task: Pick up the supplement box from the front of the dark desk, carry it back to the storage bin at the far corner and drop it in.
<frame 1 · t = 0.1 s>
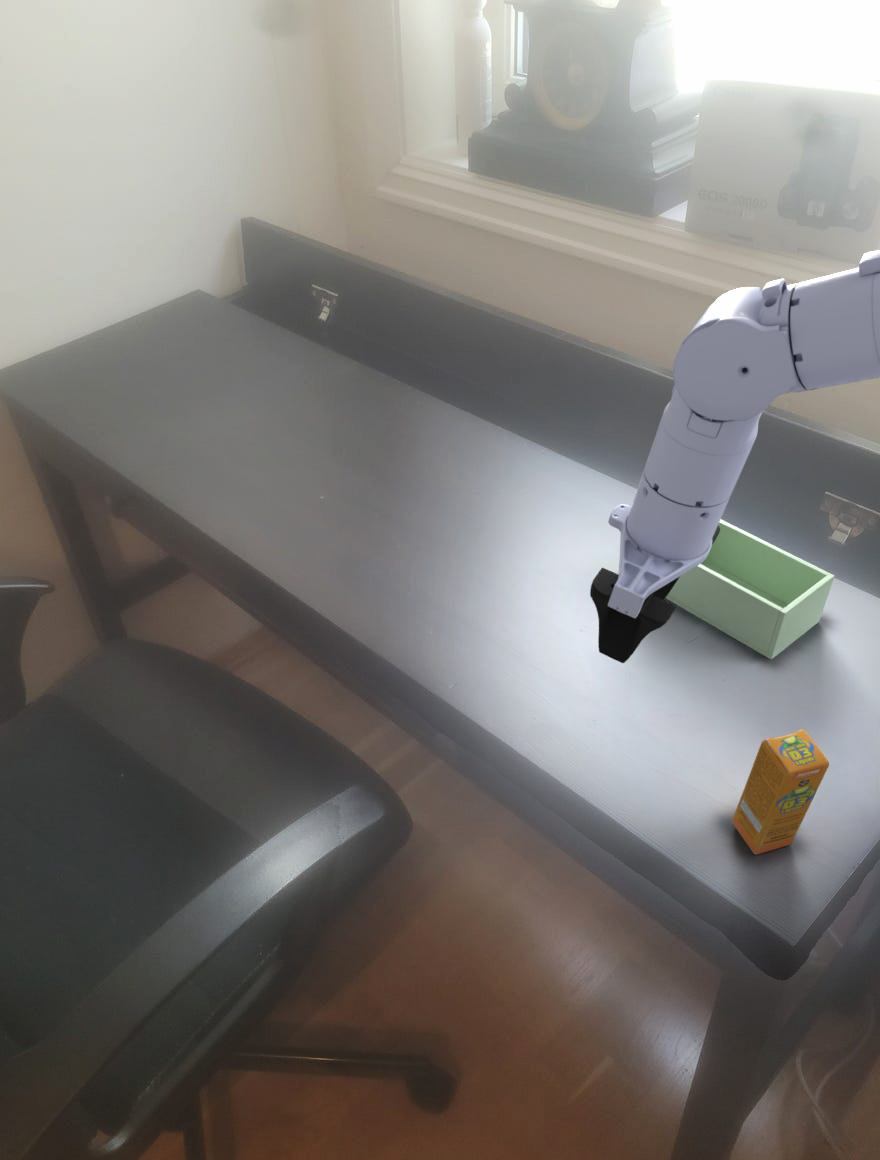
hand: (631, 624, 68), 11 cm above the table, tool pointing down, fingers open, 7 cm apart
supplement box: (762, 836, 67), on the table
storage bin: (726, 601, 86), on the table
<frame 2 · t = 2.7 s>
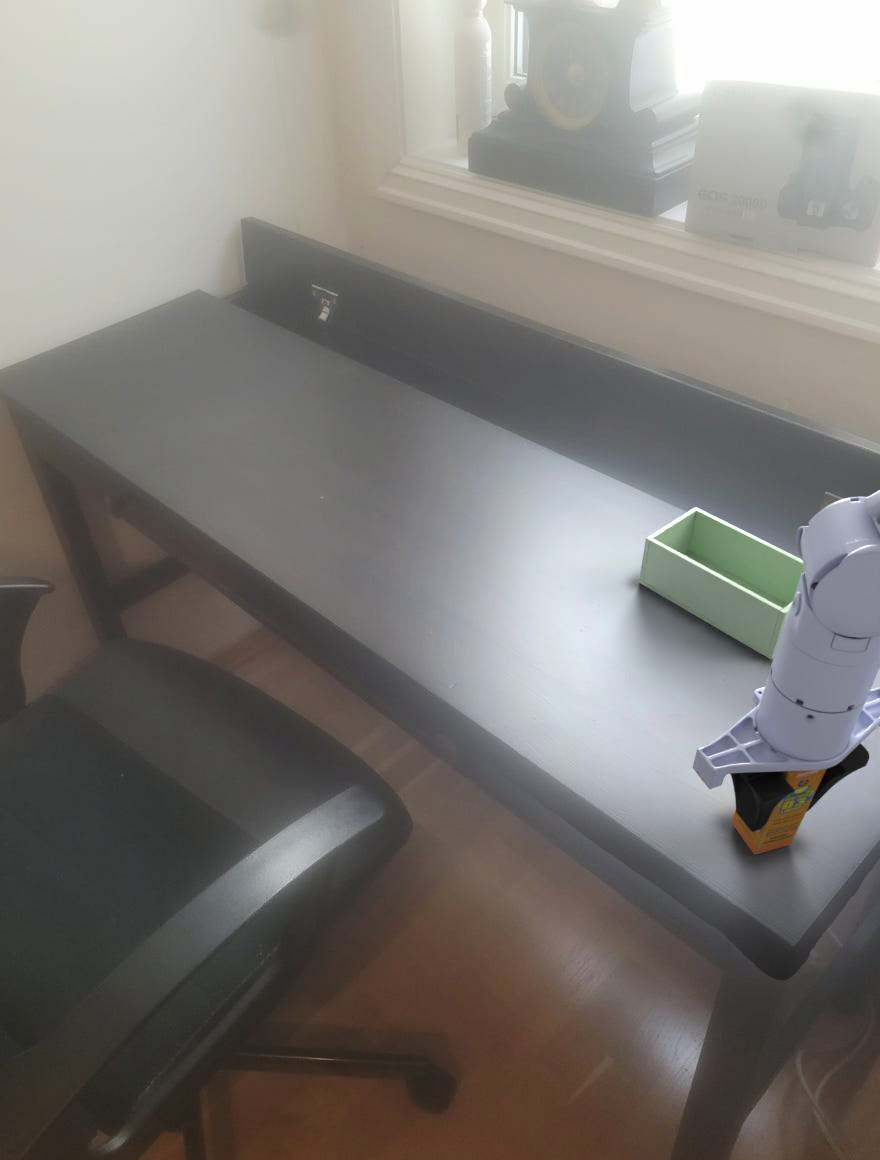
hand: (771, 811, 65), 3 cm above the table, tool pointing down, fingers closed on supplement box, 3 cm apart
supplement box: (761, 836, 67), on the table, touching gripper
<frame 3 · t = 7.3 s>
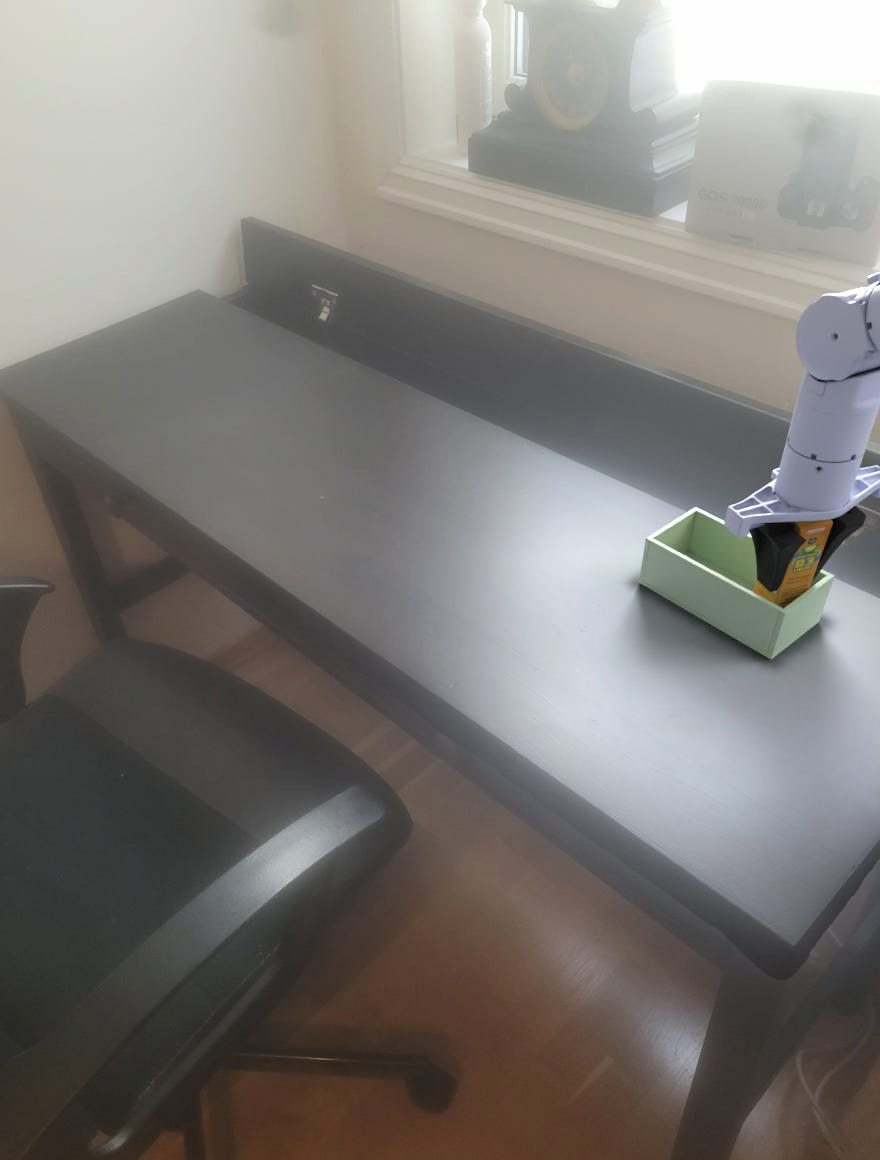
hand: (785, 579, 79), 6 cm above the table, tool pointing down, fingers closed on supplement box, 3 cm apart
supplement box: (777, 605, 81), point 3 cm above the table, touching gripper
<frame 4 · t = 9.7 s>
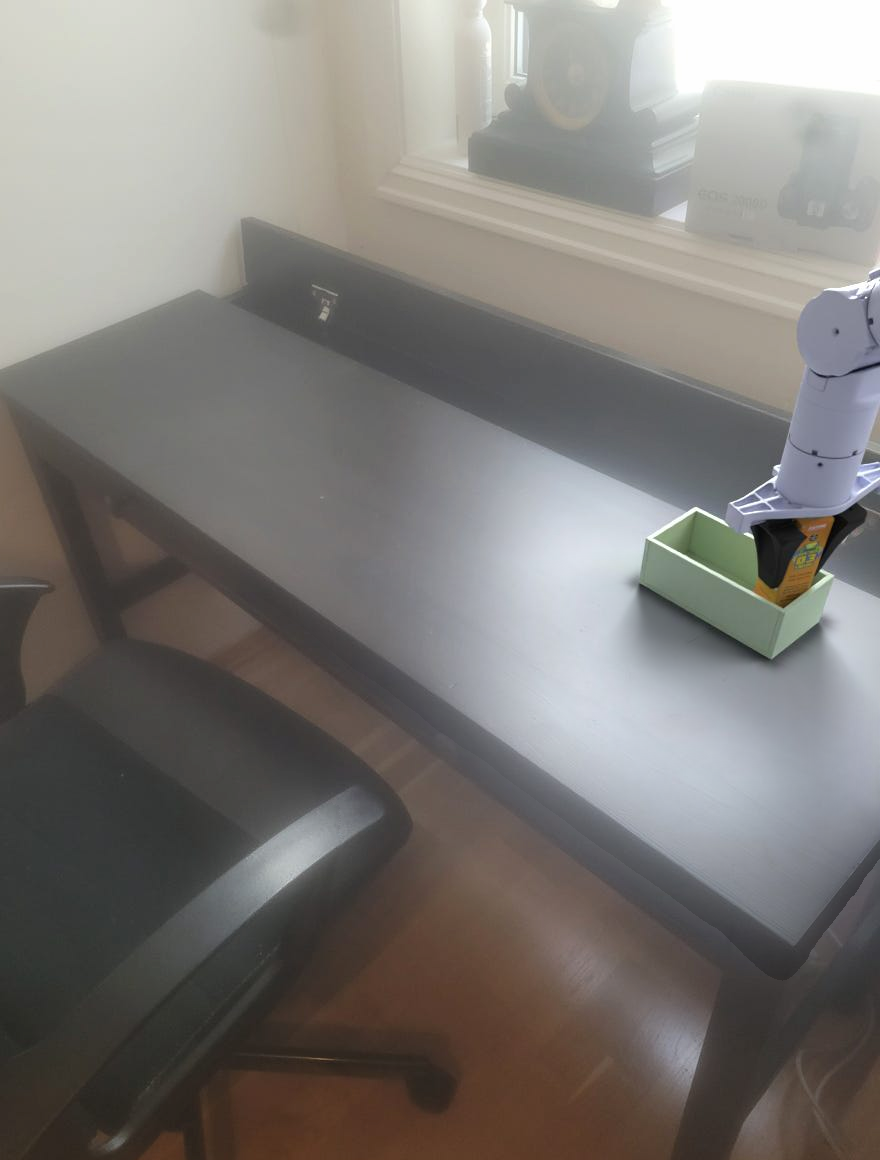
hand: (787, 576, 79), 6 cm above the table, tool pointing down, fingers closed on supplement box, 3 cm apart
supplement box: (778, 602, 81), point 3 cm above the table, touching gripper
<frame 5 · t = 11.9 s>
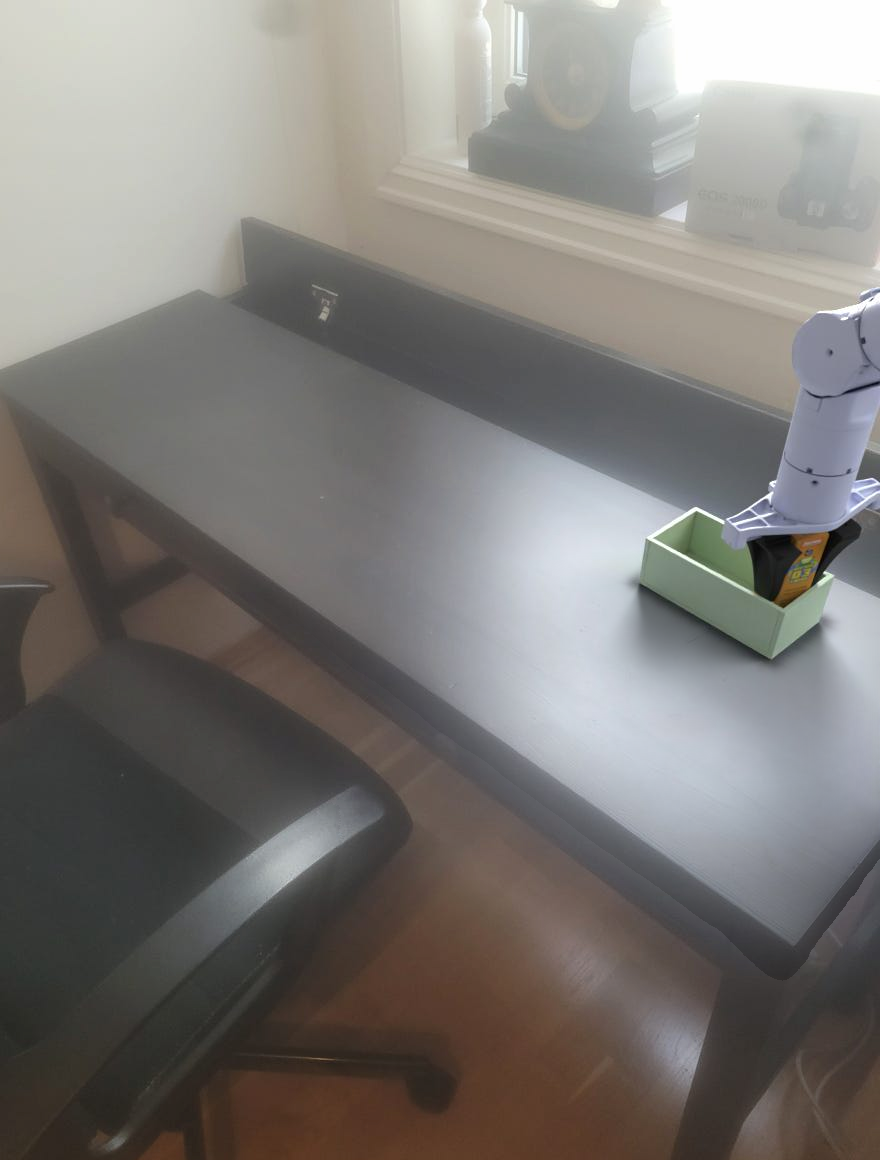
hand: (782, 589, 80), 4 cm above the table, tool pointing down, fingers closed on supplement box, 3 cm apart
supplement box: (774, 615, 82), point 1 cm above the table, touching gripper
when the fingers open (6 cm above the table, at t = 13.9 s): supplement box drops 3 cm, resting on storage bin.
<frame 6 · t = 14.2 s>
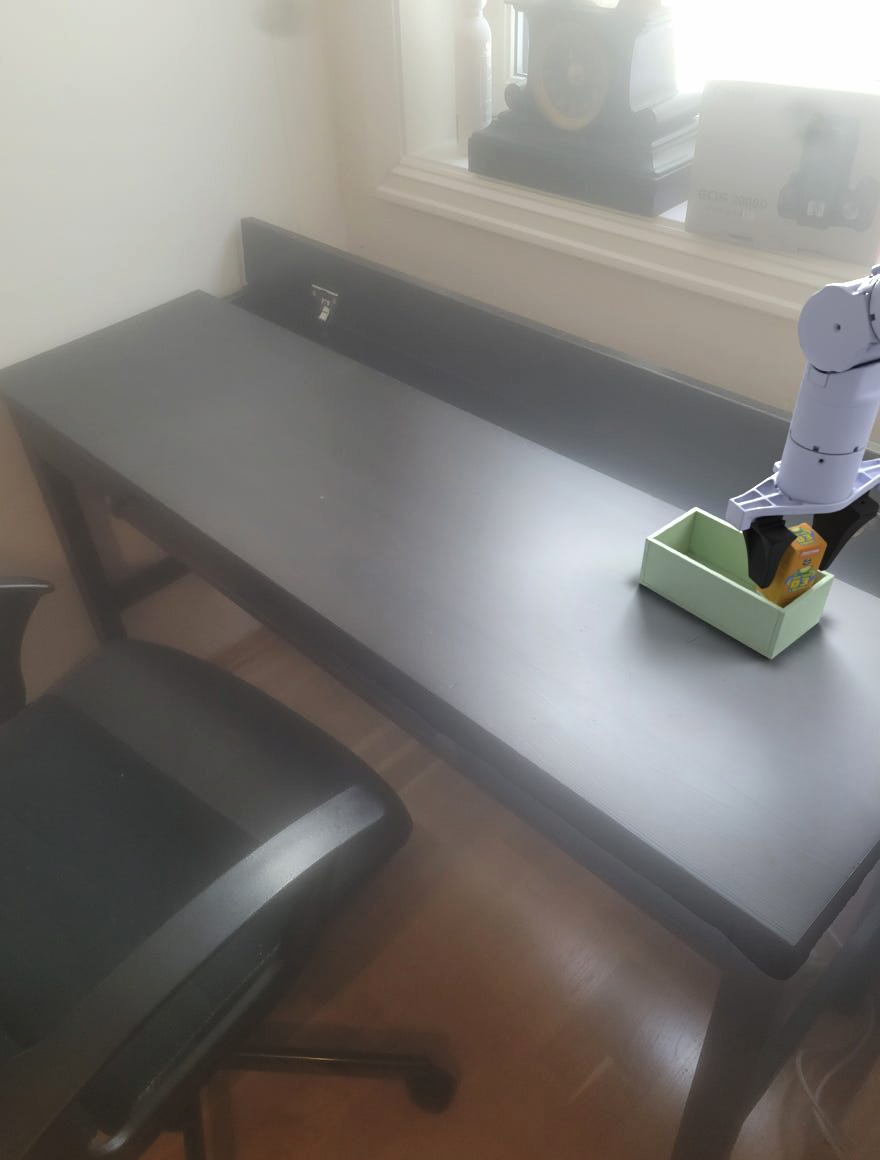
hand: (787, 573, 79), 6 cm above the table, tool pointing down, fingers open, 5 cm apart
supplement box: (773, 623, 83), resting on storage bin
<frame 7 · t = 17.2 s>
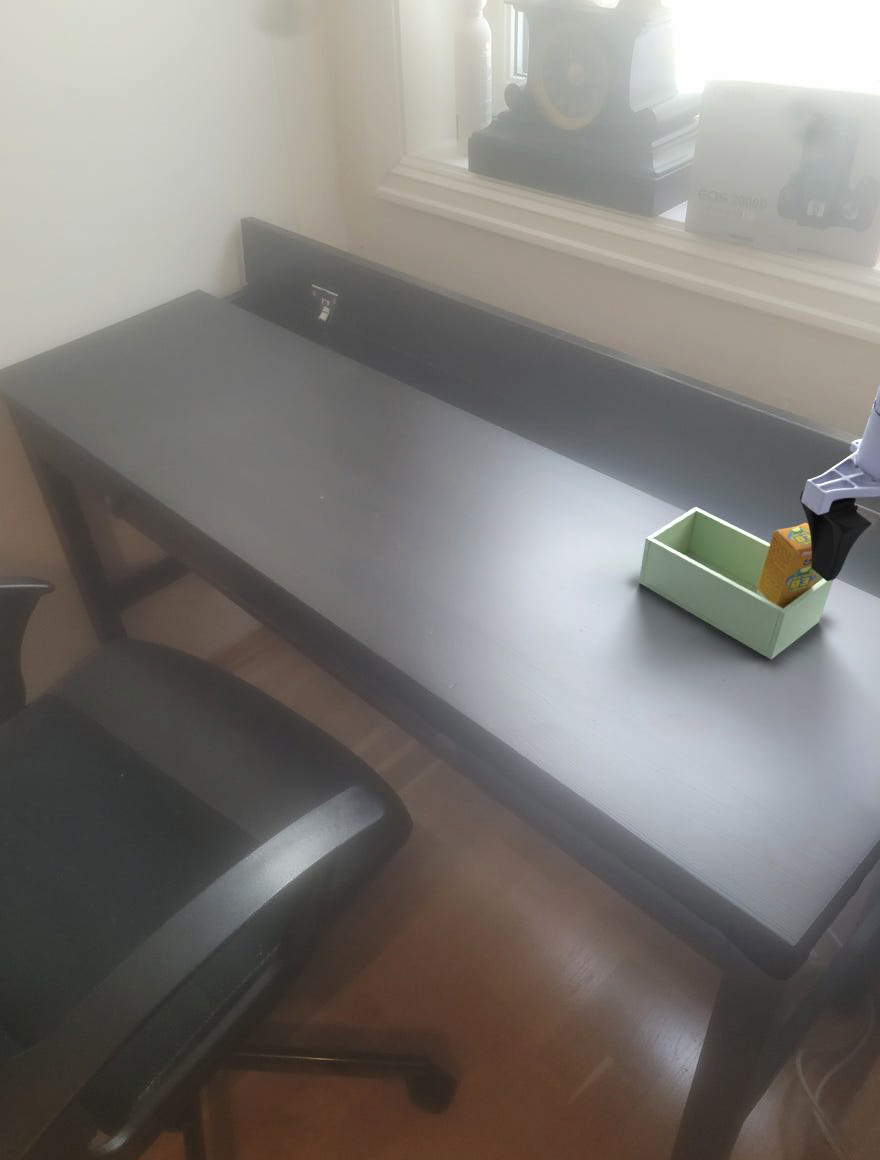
hand: (862, 561, 73), 10 cm above the table, tool pointing down, fingers open, 7 cm apart
nothing on the table moved.
at the end: supplement box inside the target area in the storage bin (4.9 cm from its centre), point 0.3 cm above the storage bin's base; the gripper is holding nothing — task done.
